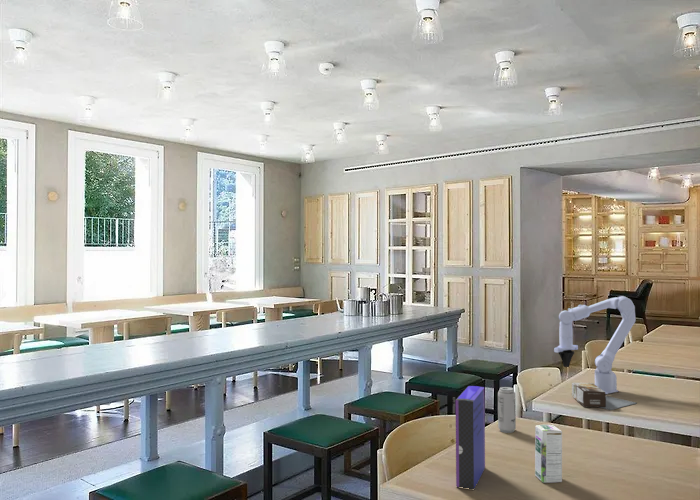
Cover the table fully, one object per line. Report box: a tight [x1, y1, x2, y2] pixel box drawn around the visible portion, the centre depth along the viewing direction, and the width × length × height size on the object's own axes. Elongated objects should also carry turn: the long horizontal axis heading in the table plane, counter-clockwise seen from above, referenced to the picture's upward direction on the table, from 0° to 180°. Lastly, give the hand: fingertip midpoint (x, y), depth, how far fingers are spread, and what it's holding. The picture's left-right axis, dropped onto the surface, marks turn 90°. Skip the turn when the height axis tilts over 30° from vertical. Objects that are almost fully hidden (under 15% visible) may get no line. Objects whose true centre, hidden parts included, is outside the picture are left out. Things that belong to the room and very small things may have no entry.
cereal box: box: [455, 385, 486, 490], centre depth 167 cm, size 17×5×24 cm, turn 157°
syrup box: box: [534, 424, 563, 484], centre depth 165 cm, size 6×6×14 cm
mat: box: [576, 395, 638, 411], centre depth 246 cm, size 18×16×1 cm
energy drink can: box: [497, 386, 517, 434], centre depth 209 cm, size 6×6×15 cm
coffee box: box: [571, 382, 606, 408], centre depth 246 cm, size 9×6×16 cm
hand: (566, 366), depth 269 cm, fingers closed
